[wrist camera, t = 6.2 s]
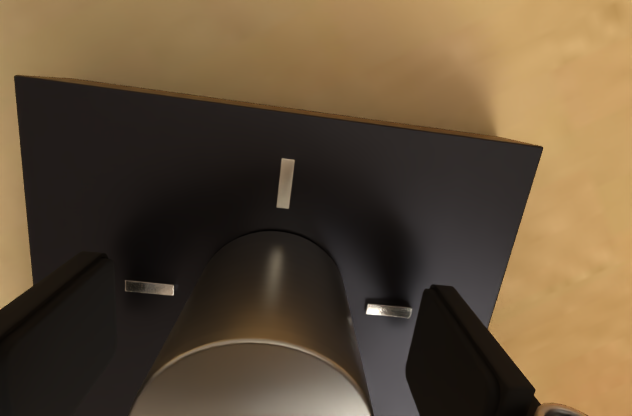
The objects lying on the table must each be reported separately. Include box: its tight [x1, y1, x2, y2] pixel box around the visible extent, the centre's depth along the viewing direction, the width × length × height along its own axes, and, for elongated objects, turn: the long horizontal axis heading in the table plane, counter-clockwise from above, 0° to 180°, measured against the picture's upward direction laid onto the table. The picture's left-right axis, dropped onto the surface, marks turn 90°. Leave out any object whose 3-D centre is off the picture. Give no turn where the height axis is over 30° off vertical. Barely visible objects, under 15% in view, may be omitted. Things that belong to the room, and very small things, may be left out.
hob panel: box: [14, 75, 543, 416], centre depth 13 cm, size 14×11×3 cm
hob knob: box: [129, 231, 374, 416], centre depth 9 cm, size 4×4×5 cm
